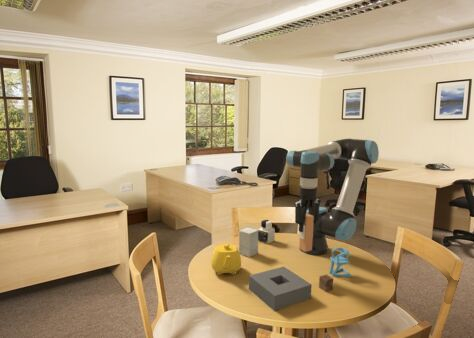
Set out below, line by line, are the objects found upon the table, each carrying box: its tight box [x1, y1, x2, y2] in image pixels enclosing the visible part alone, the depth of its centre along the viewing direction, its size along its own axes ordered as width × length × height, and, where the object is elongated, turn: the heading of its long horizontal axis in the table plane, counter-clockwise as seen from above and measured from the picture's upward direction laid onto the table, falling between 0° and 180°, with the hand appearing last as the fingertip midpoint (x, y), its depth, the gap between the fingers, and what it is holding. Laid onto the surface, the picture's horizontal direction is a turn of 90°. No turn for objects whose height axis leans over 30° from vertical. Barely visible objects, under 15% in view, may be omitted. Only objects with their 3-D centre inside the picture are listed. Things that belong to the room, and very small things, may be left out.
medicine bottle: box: [257, 219, 276, 245], centre depth 196 cm, size 7×7×12 cm
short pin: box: [318, 274, 334, 293], centre depth 145 cm, size 4×4×5 cm
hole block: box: [248, 266, 312, 311], centre depth 140 cm, size 18×18×6 cm
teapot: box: [210, 243, 242, 276], centre depth 157 cm, size 14×20×13 cm
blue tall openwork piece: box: [328, 247, 352, 278], centre depth 158 cm, size 8×8×12 cm
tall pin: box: [298, 214, 314, 253], centre depth 154 cm, size 4×4×16 cm
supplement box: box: [238, 226, 259, 258], centre depth 178 cm, size 7×7×13 cm
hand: (306, 237), depth 154 cm, fingers closed on tall pin, 4 cm apart
